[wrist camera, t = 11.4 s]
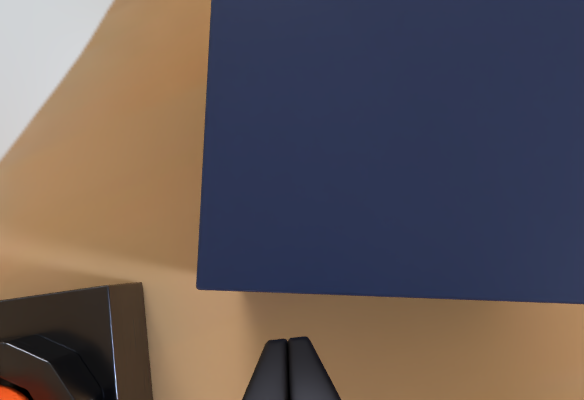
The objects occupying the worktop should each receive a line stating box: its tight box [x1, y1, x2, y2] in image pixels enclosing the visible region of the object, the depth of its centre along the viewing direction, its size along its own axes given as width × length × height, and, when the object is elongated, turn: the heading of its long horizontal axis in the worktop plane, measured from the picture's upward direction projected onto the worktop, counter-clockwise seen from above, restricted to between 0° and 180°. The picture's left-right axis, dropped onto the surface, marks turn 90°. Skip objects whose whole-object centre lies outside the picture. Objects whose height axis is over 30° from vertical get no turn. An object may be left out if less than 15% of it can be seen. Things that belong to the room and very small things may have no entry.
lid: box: [196, 0, 584, 304], centre depth 15 cm, size 13×13×1 cm
